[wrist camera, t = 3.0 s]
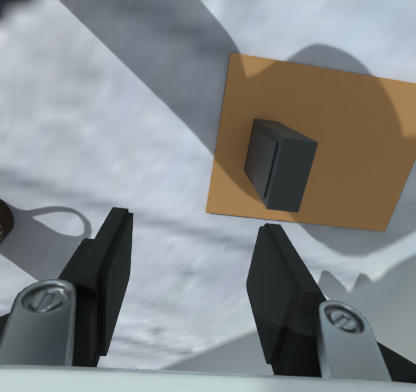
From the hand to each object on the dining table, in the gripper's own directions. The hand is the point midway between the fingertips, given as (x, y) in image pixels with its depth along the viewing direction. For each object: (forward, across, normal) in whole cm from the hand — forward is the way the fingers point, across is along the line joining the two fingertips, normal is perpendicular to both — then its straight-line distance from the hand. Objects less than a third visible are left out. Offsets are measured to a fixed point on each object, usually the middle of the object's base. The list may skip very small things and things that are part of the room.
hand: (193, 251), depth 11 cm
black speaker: (+23, -8, 0) cm, 24 cm away
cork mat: (+23, -15, 0) cm, 28 cm away
